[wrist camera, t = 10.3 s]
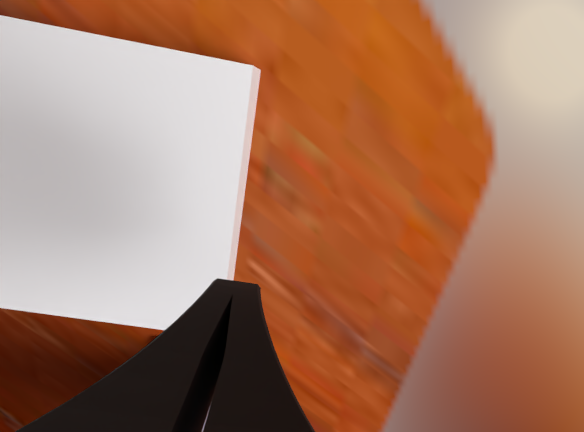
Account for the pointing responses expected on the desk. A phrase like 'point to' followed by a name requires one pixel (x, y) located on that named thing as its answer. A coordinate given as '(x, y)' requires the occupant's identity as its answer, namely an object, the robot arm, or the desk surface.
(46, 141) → the white flat block
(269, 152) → the desk surface
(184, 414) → the robot arm
